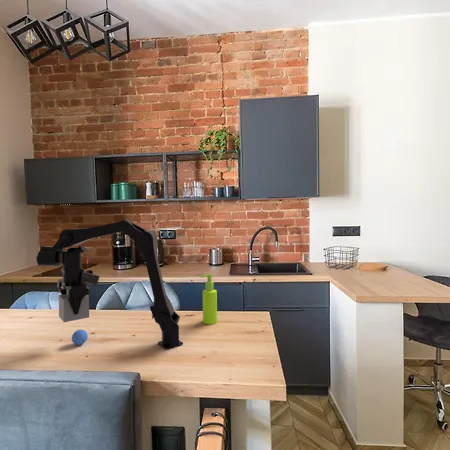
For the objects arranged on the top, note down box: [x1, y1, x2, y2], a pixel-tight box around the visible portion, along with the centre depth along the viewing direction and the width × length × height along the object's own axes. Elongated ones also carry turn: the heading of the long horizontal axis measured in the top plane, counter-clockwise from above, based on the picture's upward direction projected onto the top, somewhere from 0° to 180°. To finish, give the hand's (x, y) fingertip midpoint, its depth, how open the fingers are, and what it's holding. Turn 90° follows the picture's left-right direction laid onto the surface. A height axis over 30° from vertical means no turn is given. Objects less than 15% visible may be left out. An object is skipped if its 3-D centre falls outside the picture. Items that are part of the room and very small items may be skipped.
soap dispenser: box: [199, 273, 218, 325], centre depth 126 cm, size 6×7×20 cm
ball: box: [71, 329, 89, 346], centre depth 105 cm, size 5×5×5 cm
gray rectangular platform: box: [58, 294, 90, 323], centre depth 103 cm, size 8×8×7 cm
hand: (73, 311), depth 103 cm, fingers closed on gray rectangular platform, 8 cm apart
